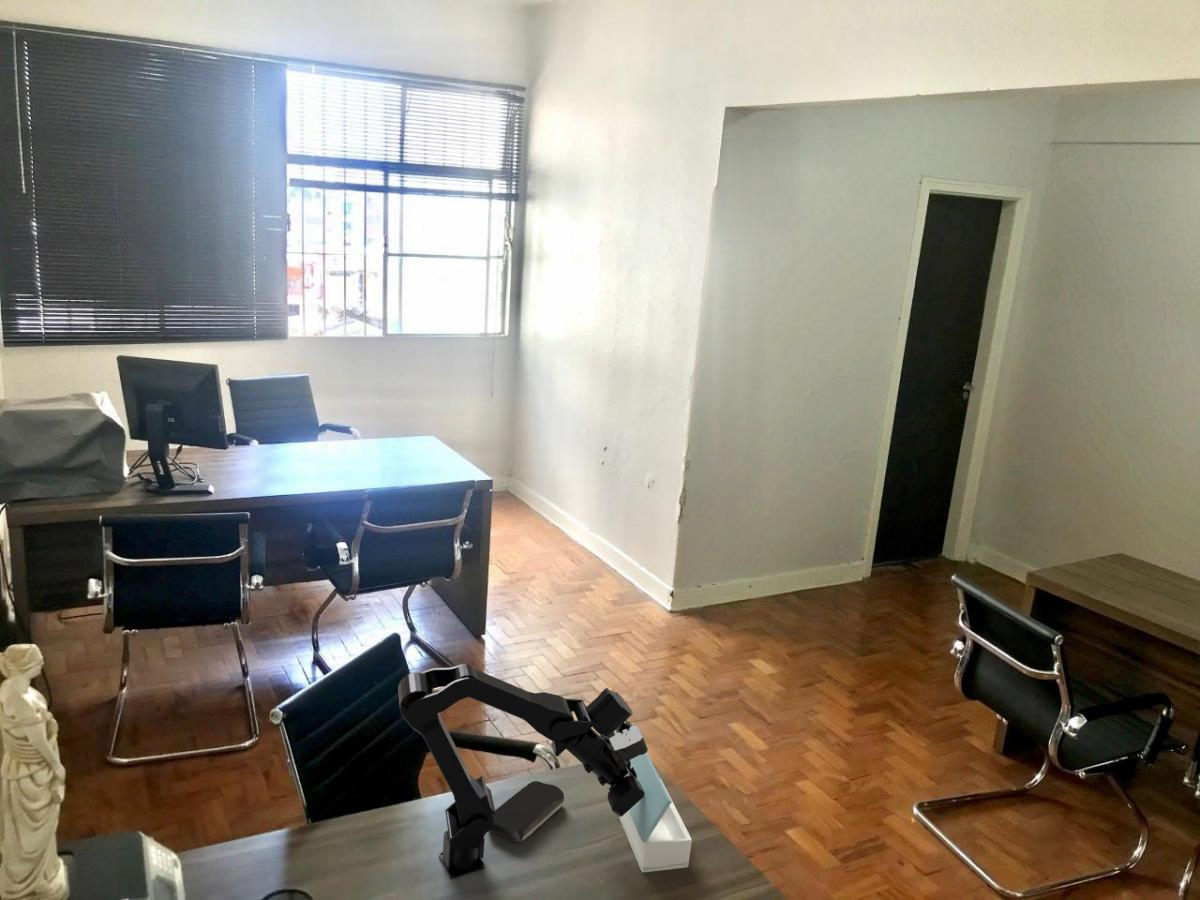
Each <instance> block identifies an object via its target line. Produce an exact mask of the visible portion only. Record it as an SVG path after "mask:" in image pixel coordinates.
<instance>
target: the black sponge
mask: <svg viewBox="0 0 1200 900" xmlns="http://www.w3.org/2000/svg"><path fill="white" fill-rule="evenodd" d="M564 795H565V793H564V792H563V790H562V789H561V788H559V787H558V786H556V785H554V784H549V783H545V782H541V781H538V780H534V781H531V782H529V783H528V784H526V785H525V786H524V787H522V789H520V790H519V791H517V792H516V793H515V794H514V795H513V796H511V797H509V798H508V799H507V800H506V801H505V802H504V803H502V804H501V805H500V806H498V807H497V808H495V812H496V814H493V817H494V824H493V826H492V828H491V829H490V830H489V831H490V832H493V833H495V834H497V835H502V836H504V837H505V838H507V839H508V840H510V841H511V842H521V843H522V842H523V841H524V840H526V839H527V838H528V837H529V836H530V835H532V834H533V833H534V832H535V831H536V830H537V829H538V828H539V827H540V826H542V825H543V823H545V822H546V821H547V820H549V819H550V817H552V816H553V815H554V814H555V813H556V812H558V810H560V809H561V808H562V806H563V805H564V802H565V798H564V797H565V796H564Z"/></svg>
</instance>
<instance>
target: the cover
mask: <svg viewBox="0 0 1200 900" xmlns="http://www.w3.org/2000/svg"><path fill="white" fill-rule="evenodd" d="M630 762H631V768H632V767H633V768H634V770H635V772H636V774H637V780H638V781H639V782H640V784H641V786H642V788H643V790H644V792H645V794H644V797H643V798H642V799H641V800H640V801H639V802H637V803H636V804H635V805H634V806H633V807H632V808H631V809H630V810H629V813H630V815H631V817H632V820H633V822H634V824H635V827H636V829H637V831H638V833H639V836H640V838H641V840H642V842H645V843H646V841H647V839H648V838H649V836H650V835H651V833H652V832H653V830H654V829H655V827H656V826H657V824H658V822H659V821H660V819H661V818H662V816H663V815H664V813H665V812H666V810H667V809H668V807H669V805H670V804H671V802H673V800H672V798H671V796H670V794H669V792H668V790H667V788H666V786H665V784H664V782H663V780H662V778H661V777H660V775H659V774H658V771H657V770H656V768H655V765H654V763H653V762H652V760H651V757H650V756H649V753H648V751H647V752H646V753H645V754H643V755H639V756H637V757H635V758H633V759H631V760H630ZM631 768H630V769H631ZM661 780H662V781H661ZM662 782H663V783H662ZM663 784H664V785H663ZM664 786H665V787H664ZM665 788H666V789H665ZM666 790H667V791H666ZM667 792H668V793H667ZM668 794H669V795H668ZM669 796H670V797H669ZM670 798H671V799H670ZM671 800H672V801H671Z"/></svg>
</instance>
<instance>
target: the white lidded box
mask: <svg viewBox="0 0 1200 900" xmlns="http://www.w3.org/2000/svg"><path fill="white" fill-rule="evenodd" d="M661 781H662V783H663V785H664V787H665V789H666V791H667V793H668V795H669V797H670V799H671V801H672V802H671V804H670V805H669V807H668V809H667V810H666V812H665V813H664V815H663V816H662V818H661V819H660V821H659V822H658V824H657V826H656V827H655V829H654V830H653V832H652V833H651V835H650V836H649V838H648V839H647V841H646V843H645V842H642V840H641V838H640V836H639V833H638V831H637V829H636V827H635V824H634V822H633V820H632V817H631V815H630V813H629V811H627V812H626V813H625V814H624V815H623V816H618V818H619V820H620V822H621V826H622V827H623V830H624V832H625V835H626V838H627V839H628V842H629V844H630V847H631V849H632V852H633V854H634V857H635V859H636V862H637V864H638V867H639V868H640V870H641V873H650V872H659V871H665V870H667V871H669V870H674V869H675V870H676V869H684V868H689V864H690V863H689V862H690V855H691V850H692V842H693V840H692V838H691V835H690V833H689V831H688V829H687V828H686V825H685V824H684V821H683V820H682V817H681V816H680V813H679V812H678V810H677V808H676V806H675V803H674V802H673V799H672V798H671V796H670V794H669V792H668V790H667V788H666V786H665V784H664V782H663V780H662V779H661Z"/></svg>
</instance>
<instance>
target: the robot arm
mask: <svg viewBox="0 0 1200 900" xmlns="http://www.w3.org/2000/svg"><path fill="white" fill-rule="evenodd" d="M439 687H440V688H441V689H440V690H438V691H436V692H435V689H436V688H439ZM397 690H398V701H399V703H398V704H399V711H400V714H401V716H402V717H403V719H404V721H406V723H408V725H409V726H410V728H411V729H412V730H413V731H416V732H417V733H419V734H420V735H421V736H422V738H423V740H424V741H425V743H426V746H427V748H428V749H429V751H430V753H431V755H432V757H433V758H434V761H435V763H436V765H437V766H438V769H439V770H440V772H441V774H442V776H443V778H444V781H445V782H446V784H447V786H448V788H449V790H450V791H451V794H452V795H453V798H454V802H453V803H452V804H450V806H448V807H446V809H445V811H444V813H445V820H446V827H447V830H446V831H444V832H443V842H442V851H441V852H439V853H438V856H439V859H440V861H441V863H442V865H443V867H444V868H445V870H446V872H447V874H448V876H449V878H451V879H456V878H459V877H461V876H465V875H468V874H471V873H473V872H478V871H481V870H483V869H485V866H486V865H485V863H484V862H483V860H482V859H483V858H484V857H485V842H486V841H485V840H486V839H485V836H486V834H487V833H488V832H489V831H490V829H491V828H492V826H493V824H494V817H493V814H496V812H495V810H496V808H495V803H494V798H493V795H492V790H491V788H489V787H488V786H487V784H486V782H485V779H484V775H481V776H480V777H478V778H475V777H473V776H472V775H471V773H470V772H469V769H468V767H467V766H466V764H465V762H464V760H463V758H462V756H461V754H460V752H459V750H458V748H457V746H456V744H455V742H454V740H453V739H452V735H450V732H449V730H448V729H447V726H446V725H445V722H444V720H443V718H442V716H441V713H442V712H445V711H447V710H448V709H449V708H450V707H452V706H453V705H455V704H456V703H458V702H459V701H460V700H464V699H466V698H470V699H472V700H475V701H478V702H480V703H482V704H485V705H487V706H489V707H491V708H494V709H496V710H499V711H501V712H504V713H507V714H509V715H511V716H514V717H517V718H518V719H521V720H522V721H524V722H526V723H527V724H528V725H530V727H532V728H533V730H535V731H536V732H537V733H538V734H540V735H541V736H543V737H545V738H546V739H547V740H549V741H551V743H550V744H551V748H552V750H553V753H554V756H555V757H559V756H560V755H561V754H562V753H563V752H564V751H566V750H567V751H568V752H569V753H570V754H571V755H572V756H573V757H574V758H576V759H577V760H578V761H579V762H580V763H581V764H582V765H583V768H584V771H585V772H586V773H587V774H590V773H593V775H595V776H596V778H597V780H598V782H599V784H600V785H601V786H603V787H604V785H606V784H607V785H610V786H609V788H608V790H609V791H608V793H607V801H608V803H609V805H610V808H611V811H612V812H613V813H615V814H616V816H617V817H619V816H623V815H624V814H625V813H626V812H627V811H629V810H630V809H631V808H632V807H633V806H634V805H635V804H636V803H637V802H639V801H640V800H641V799H642V798H643V797H644V794H645V792H644V790H643V788H642V786H641V784H640V782H639V781H638V780H637V774H636V772H635V770H634V768H633V767H632V768H631V762H630V760H631V759H633V758H635V757H637V756H639V755H643V754H645V753H646V752H647V753H648V750H649V749H648V747H647V744H646V741H645V739H644V737H643V734H642V733H641V730H640V728H639V726H638V725H635V723H634V722H632V723H631V722H629V721H628V719H629V718H630V717H632V715H634V713H633V711H632V709H631V707H630V706H629V704H628V703H627V702H626V701H625V700H624V698H623V697H622V696H621V695H620V694H619V693H618V692H617V691H614V690H610V689H609V688H608V687H606V688H604V689H603V690H601V692H600V693H599V695H597V697H595V698H594V699H593V700H592V701H591V702H590V703H589V704H588V705H586V704H585V702H584V700H583V699H576V698H564V697H563V696H561V695H558V694H554V693H549V692H545V691H543V692H531V691H528V690H526V689H523V688H521V687H518V686H516V685H513V684H511V683H509V682H506V681H504V680H502V679H500V678H497V677H495V676H493V675H491V674H488V673H485V672H484V671H480V670H478V669H476V668H475V667H473V666H472V665H470V664H468V663H462V664H458V665H455V666H451V667H432V668H429V669H427V670H424V671H421V672H411V673H408V674H407V675H405V676H404V677H402V679H401V680H400V681H399V684H398V686H397ZM573 713H574V714H575V718H576V719H577V720H576V719H575V718H574V715H573ZM630 768H631V769H630Z"/></svg>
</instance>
